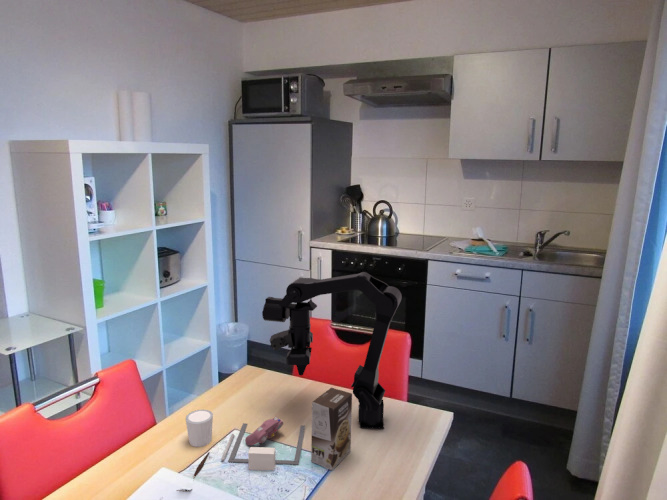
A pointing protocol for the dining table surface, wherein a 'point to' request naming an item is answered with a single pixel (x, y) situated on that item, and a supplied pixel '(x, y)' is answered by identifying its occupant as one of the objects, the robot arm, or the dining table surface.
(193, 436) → the grey round cup
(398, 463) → the dining table surface
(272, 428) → the toy car
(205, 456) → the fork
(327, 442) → the coffee box
